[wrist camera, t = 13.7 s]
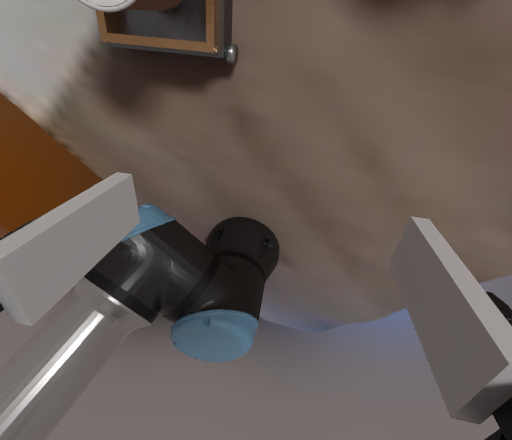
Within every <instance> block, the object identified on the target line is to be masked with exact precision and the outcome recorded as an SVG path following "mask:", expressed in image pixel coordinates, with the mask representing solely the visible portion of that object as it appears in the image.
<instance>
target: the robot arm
mask: <svg viewBox="0 0 512 440" xmlns="http://www.w3.org/2000/svg"><path fill="white" fill-rule="evenodd" d="M278 258H279V244H278V241H277V239H276V237H275V235H274V234H273V232H272V231H271V230H270V229H269V228H268V227H266V226H265V225H264V224H262V223H260V222H258V221H256V220H253V219H250V218H244V217H234V218H229V219H226V220H224V221H222V222H220V223H219V224H218V225H216V226H215V228H214V229H213V230H212V232H211V234H210V236H209V238H208V241H207V246H205V245H204V244H203V243H202V242H201V241H199V240H198V239H197V238H196V237H195V236H193V235H192V234H191V233H190V232H189V231H188V230H186V229H185V228H184V227H183V226H182V225H181V224H179V223H178V222H177V221H176V219H175V218H174V217H171V216H170V215H168V214H167V213H166V212H164V211H163V210H162V209H160V208H159V207H158V206H156V205H154V204H144V205H141V206H137V201H136V195H135V190H134V184H133V179H132V174H126V173H119V172H117V173H115V174H113V175H111V176H110V177H108V178H106V179H105V180H103V181H101V182H100V183H98V184H96V185H94V186H93V187H91V188H89V189H88V190H86V191H84V192H83V193H81V194H79V195H77V196H76V197H74V198H72V199H71V200H69V201H67V202H66V203H64V204H62V205H60V206H59V207H57V208H55V209H54V210H52V211H50V212H48V213H47V214H45V215H43V216H42V217H40V218H38V219H35V220H32V221H29V222H27V223H26V224H24V225H22V226H20V227H19V228H17V229H16V230H15V231H12V232H10V233H8V234H7V235H5V236H4V238H0V312H1V311H3V310H4V311H5V312H6V314H7V315H8V317H9V318H10V320H11V321H12V322H16V323H21V324H25V325H30V326H33V325H34V324H35V323H36V322H37V321H38V320H39V319H40V318H41V317H42V316H43V315H44V314H45V313H46V312H47V311H48V310H49V309H50V308H51V307H52V306H53V305H54V304H56V302H58V301H59V300H60V298H61V297H62V296H64V295H65V294H66V293H67V292H68V291H69V290H70V289H71V288H72V287H73V286H74V285H76V286H75V287H76V288H75V292H74V294H73V295H72V296H71V297H70V298H69V299H68V300H67V301H66V302H65V303H64V304H63V305H62V306H61V307H60V308H59V309H58V310H57V311H56V312H55V313H54V314H53V315H52V317H51V318H49V319H48V321H47V322H46V323H45V324H44V325H43V326H42V327H41V328H40V329H39V330H38V331H37V332H36V333H35V334H34V335H33V336H32V337H31V338H30V339H29V340H28V341H27V342H26V343H25V344H24V345H23V346H22V347H21V348H20V349H19V351H17V352H16V353H15V354H14V356H12V357H11V358H10V359H9V361H8V362H7V363H6V364H5V365H4V366H3V367H2V368H1V369H0V440H46V438H47V437H48V436H49V435H50V433H51V432H52V431H53V430H54V428H55V427H56V426H57V425H58V423H59V422H60V421H61V419H62V418H63V417H64V416H65V414H66V413H67V412H68V411H69V409H70V408H71V407H72V405H73V404H74V403H75V402H76V400H77V399H78V398H79V397H80V395H81V394H82V393H83V392H84V390H85V389H86V388H87V387H88V385H89V384H90V383H91V381H92V380H93V379H94V378H95V376H96V375H97V374H98V373H99V371H100V370H101V369H102V367H103V366H104V365H105V364H106V362H107V361H108V360H109V359H110V357H111V356H112V355H113V354H114V352H115V351H116V350H117V349H118V347H119V346H120V345H121V343H122V342H123V341H124V340H125V338H126V337H127V336H128V334H129V333H130V332H131V331H133V330H135V329H138V328H142V327H146V326H150V325H151V324H152V322H153V321H154V320H155V318H156V317H157V316H158V315H159V314H161V315H162V316H164V317H165V318H167V319H168V320H169V321H171V322H172V323H173V325H172V327H171V340H172V341H173V344H174V345H175V347H176V348H177V349H178V350H180V351H181V352H182V353H184V354H186V355H188V356H190V357H193V358H196V359H199V360H204V361H210V362H225V361H231V360H234V359H237V358H239V357H241V356H243V355H244V354H246V353H247V352H248V351H249V349H250V348H251V346H252V343H253V340H254V336H255V332H256V330H257V328H258V320H259V314H260V308H261V303H262V297H263V291H264V285H265V281H266V280H267V279H268V277H269V276H270V275H271V273H272V272H273V270H274V269H275V267H276V265H277V262H278ZM389 265H390V268H391V270H392V273H393V275H394V278H395V280H396V283H397V285H398V288H399V290H400V293H401V295H402V298H403V300H404V302H405V305H406V307H407V310H408V312H409V315H410V317H411V320H412V322H413V325H414V327H415V330H416V332H417V335H418V337H419V340H420V342H421V345H422V347H423V350H424V352H425V355H426V357H427V360H428V362H429V365H430V367H431V370H432V372H433V375H434V377H435V380H436V382H437V384H438V387H439V389H440V392H441V395H442V397H443V400H444V402H445V405H446V407H447V410H448V412H449V415H450V417H451V418H454V419H458V420H463V421H467V422H472V423H476V424H481V423H482V422H483V421H484V420H486V419H487V418H488V417H489V416H491V415H492V414H493V416H494V418H495V420H496V422H497V423H498V425H499V427H500V429H499V430H497V431H496V432H495V433H493V434H492V435H490V436H489V437H488V438H486V439H485V440H512V310H511V309H510V307H509V306H508V305H507V304H505V303H504V302H503V301H502V300H500V299H499V298H498V297H497V296H495V295H494V294H493V293H491V292H485V291H484V290H483V288H482V287H481V286H480V285H479V283H478V282H477V281H476V279H475V278H474V277H473V275H472V274H471V273H470V271H469V270H468V269H467V268H466V266H465V265H464V264H463V262H462V261H461V260H460V258H459V257H458V256H457V255H456V253H455V252H454V251H453V249H452V248H451V247H450V245H449V244H448V243H447V242H446V240H445V239H444V238H443V236H442V235H441V234H440V232H439V231H438V230H437V229H436V227H435V226H434V225H433V223H432V222H431V221H430V219H424V218H417V217H411V218H410V220H409V222H408V224H407V226H406V229H405V231H404V233H403V235H402V237H401V239H400V241H399V244H398V246H397V248H396V250H395V252H394V254H393V256H392V258H391V261H390V263H389Z"/></svg>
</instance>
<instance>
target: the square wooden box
mask: <svg viewBox="0 0 512 440" xmlns="http://www.w3.org/2000/svg"><path fill="white" fill-rule="evenodd" d="M232 2H233V0H181V2H180V3H179V4H178V5H176V6H175V7H173V8H171V9H168V10H165V11H149V10H121V11H117V12H101V11H97V10H96V14H97V19H98V24H99V30H100V35H101V40H102V42H110V43H111V47H119V48H128V49H138V50H148V51H158V52H168V53H178V54H188V55H198V56H207V57H217V58H225V60H226V63H227V64H231V65H236V64H237V60H238V47H237V44H231V38H232ZM95 5H96V4H95ZM98 6H100V5H98Z"/></svg>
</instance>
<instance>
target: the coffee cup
mask: <svg viewBox="0 0 512 440" xmlns="http://www.w3.org/2000/svg"><path fill="white" fill-rule="evenodd" d="M78 1H80V2H81V3H83V4H84V5H86V6H88V7H90V8H92V9H94V10H97V11H101V12H117V11H121V10H149V11H165V10H168V9H171V8H173V7H175V6H176V5H178V4H179V3H180V2H181V0H78ZM88 1H89V2H88ZM90 2H91V3H90ZM95 4H96V5H95ZM98 5H100V6H98Z"/></svg>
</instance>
